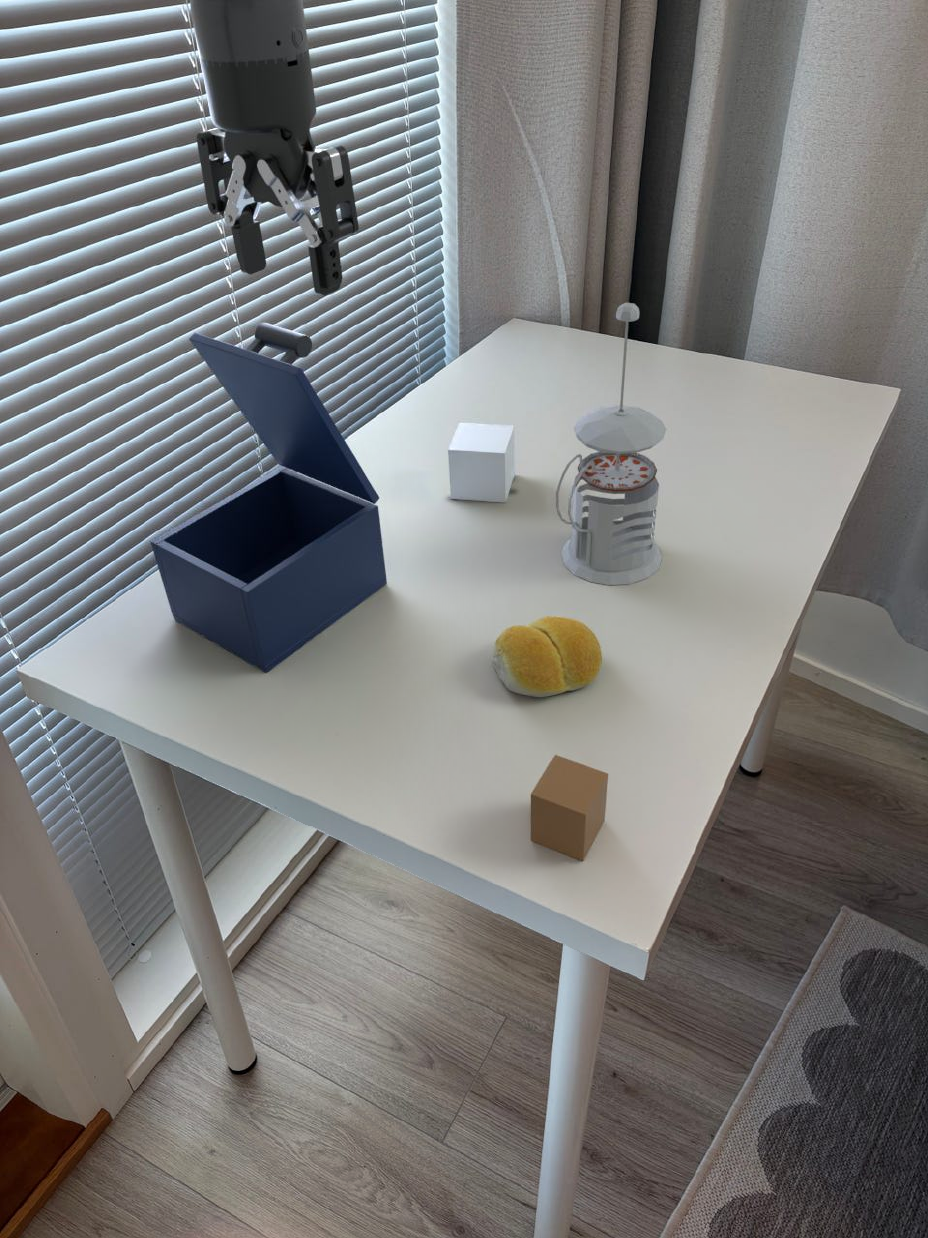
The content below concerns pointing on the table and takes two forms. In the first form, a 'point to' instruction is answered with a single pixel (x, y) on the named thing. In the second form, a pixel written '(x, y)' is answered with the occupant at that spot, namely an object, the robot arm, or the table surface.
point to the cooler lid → (285, 407)
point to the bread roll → (547, 657)
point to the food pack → (568, 807)
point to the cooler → (272, 565)
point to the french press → (615, 491)
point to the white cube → (481, 462)
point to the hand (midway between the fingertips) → (290, 281)
